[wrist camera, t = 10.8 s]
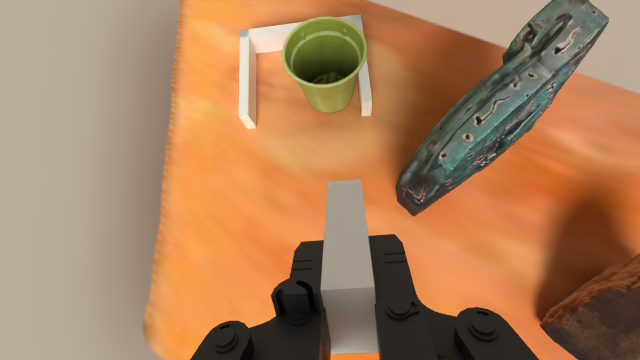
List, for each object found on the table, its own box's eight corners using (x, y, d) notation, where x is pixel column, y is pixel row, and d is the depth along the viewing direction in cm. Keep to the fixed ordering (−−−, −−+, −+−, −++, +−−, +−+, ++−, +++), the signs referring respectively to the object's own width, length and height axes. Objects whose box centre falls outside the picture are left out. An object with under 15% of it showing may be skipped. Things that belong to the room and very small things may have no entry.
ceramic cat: (491, 90, 42) (598, -71, 24) (535, 121, 41) (690, -26, 22) (381, 195, 40) (401, 109, 21) (422, 234, 38) (486, 179, 19)
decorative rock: (607, 245, 35) (707, 226, 25) (659, 293, 33) (790, 294, 23) (524, 316, 34) (594, 327, 24) (573, 371, 32) (671, 408, 22)
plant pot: (335, 52, 47) (330, 2, 39) (380, 96, 44) (384, 51, 36) (282, 91, 46) (265, 47, 38) (324, 138, 43) (316, 102, 35)
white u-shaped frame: (360, 33, 47) (360, 13, 44) (371, 115, 43) (372, 100, 40) (248, 47, 49) (240, 30, 45) (247, 128, 45) (238, 116, 41)
